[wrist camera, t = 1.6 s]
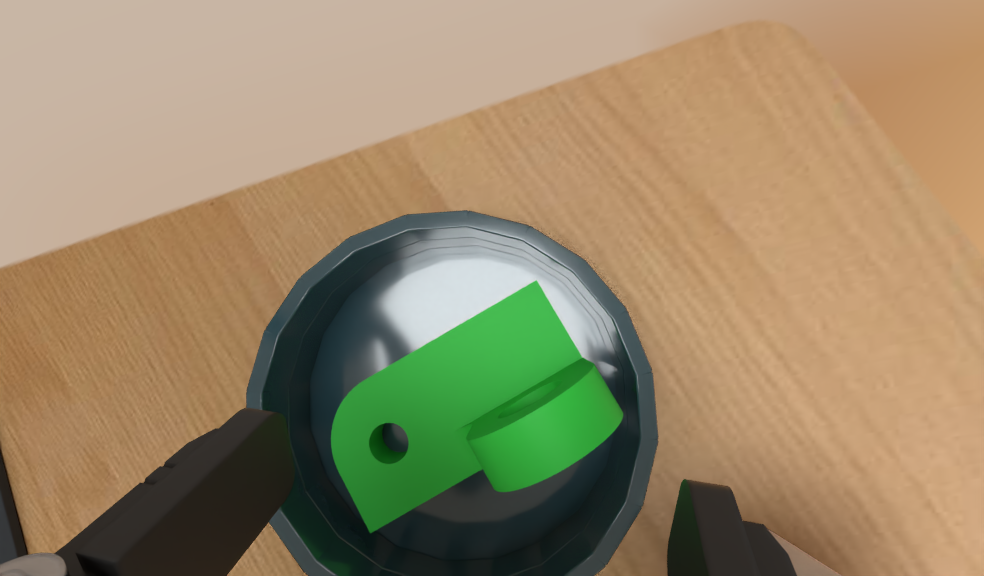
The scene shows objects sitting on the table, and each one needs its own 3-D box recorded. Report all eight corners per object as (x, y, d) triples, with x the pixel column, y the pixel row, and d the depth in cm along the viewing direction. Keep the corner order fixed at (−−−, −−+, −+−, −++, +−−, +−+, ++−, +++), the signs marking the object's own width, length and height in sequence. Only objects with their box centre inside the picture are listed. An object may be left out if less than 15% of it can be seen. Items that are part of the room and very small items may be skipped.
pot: (261, 303, 25) (195, 298, 20) (553, 187, 24) (561, 152, 19) (365, 616, 23) (322, 695, 18) (681, 498, 23) (726, 546, 18)
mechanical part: (535, 283, 23) (541, 261, 15) (598, 391, 23) (639, 425, 15) (326, 405, 23) (225, 445, 16) (383, 515, 23) (309, 615, 15)
